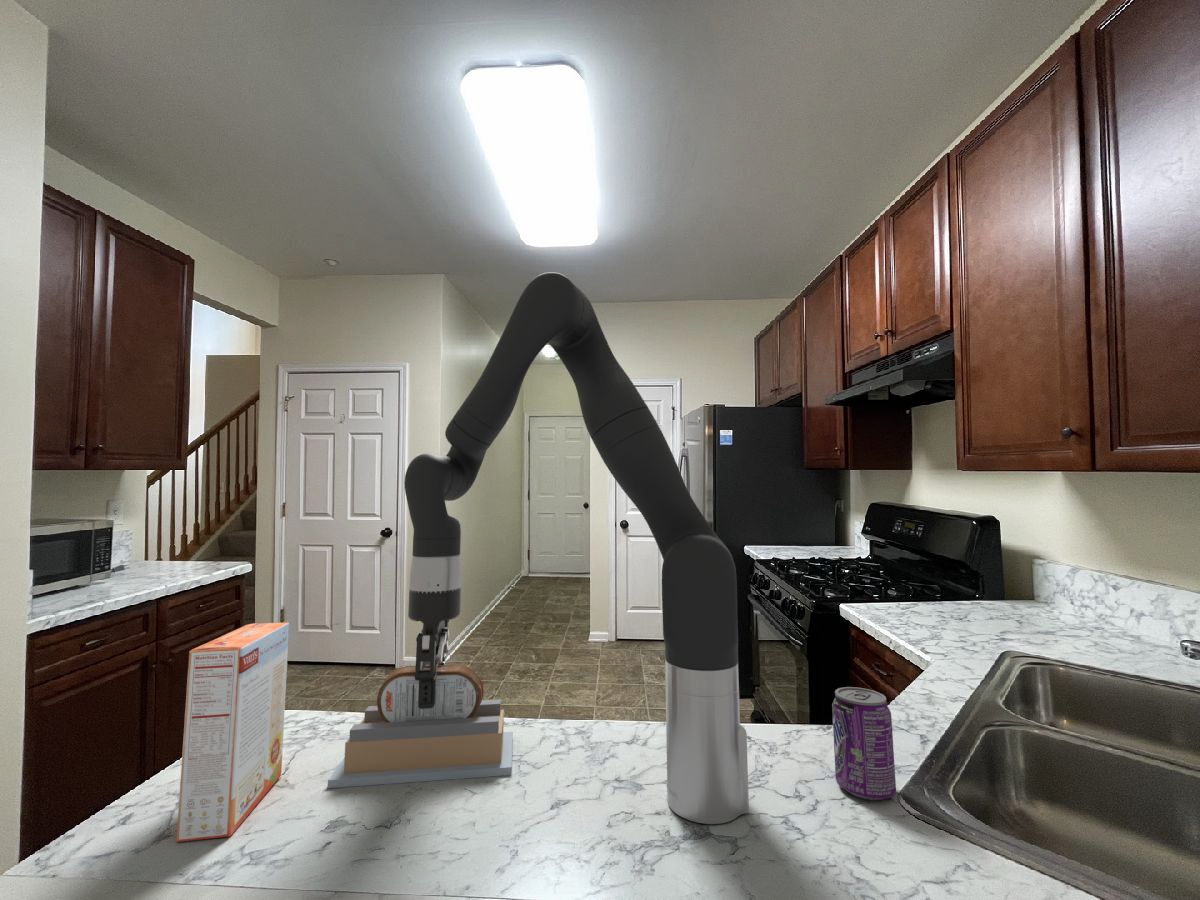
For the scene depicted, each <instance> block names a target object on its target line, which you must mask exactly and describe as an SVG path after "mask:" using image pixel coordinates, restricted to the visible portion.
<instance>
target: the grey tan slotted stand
mask: <svg viewBox="0 0 1200 900" xmlns="http://www.w3.org/2000/svg"><path fill="white" fill-rule="evenodd" d="M501 707H502V699H482V701H481V704H480V706H479V708H478V710H477V712H476V714H475V715H474V716H473V717H472V718H456V719H438V720H421V721H403V722H385V721H384V720H383V719H382V717H381V716H380V714H379V712H378V707H377V705H369V706H367V708H366V709H365V710H364V718H363V719H362V720H361V721H360V723H355V724H353V725H352V726H351V728H350V729H349V737H348V739H346V741H345V744H344V758H343V759H342V760H341V762H340V763H339V764H338V766H336V768H335V770H334V771H333V773H332V774H331V775H330V776H329V778H328V779H327V789H336V788H350V787H351V788H352V787H365V786H366V787H367V786H379V785H393V784H405V783H417V782H421V783H422V782H433V781H445V780H446V781H447V780H457V779H459V780H460V779H473V778H485V777H487V778H488V777H499V776H501V777H502V776H503V777H504V776H512V769H513V768H512V767H513V747H514V746H513V745H514V732H513V731H504V723H505V721H504V719H505V718H504V717H505V716H504V715H505V710H504V709H501Z"/></svg>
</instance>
